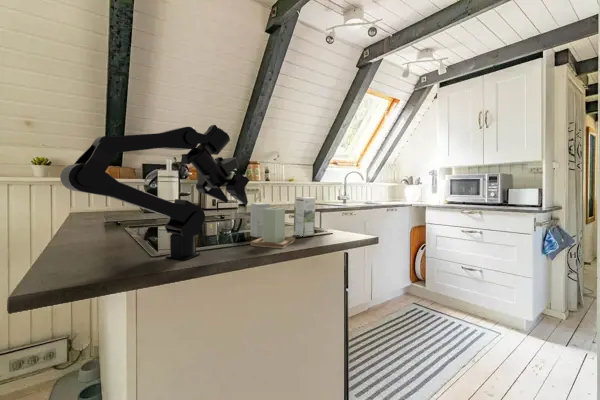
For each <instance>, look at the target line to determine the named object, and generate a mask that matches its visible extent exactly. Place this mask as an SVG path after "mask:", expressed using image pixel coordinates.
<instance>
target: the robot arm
mask: <svg viewBox="0 0 600 400" xmlns="http://www.w3.org/2000/svg"><path fill="white" fill-rule="evenodd" d="M230 141H231V137H230V136H229V134H228V132H226V131H225V130H223V129H221V127H218V126H217V125H216V124H211V125H210V126H208V128H207V130H206V131H205V132H203V133H201V132H198V131H197V130H196V129H195V128H194V127H193V126H183V127H178V128H172V129H169V130H165V131H162V132H157V133H143V134H141V133H139V134H128V135H127V134H126V135H114V136H113V135H104V136H98V137H96V138H95V139H94V140H93V142H92V144H91V145H90V146H89V147H88V148H87V149H86V150H85V151H84V152H83V153H82V154H81V155H80V156H79V157H78V158H77V159H76V161H75V162H74V163H73V164H69V165H67V166H66V167H64V168H63V169H62V171H61V172H60V176H59V178H60V182H61V183H62V185H63V187H64V188H66V189H68V190H70V191H73V192H79V193H84V194H85V193H86V194H91V195H98V196H103V197H109V198H112V199H113V200H117V201H120V202H124V203H125V204H129V205H132V206H135V207H138V208H140V209H144V210H146V211H149V212H151V213H152V212H153V213H155V214H158V215H162V216H164V217H165V218H166V219H167V220H169V221H168V222H167V223H166V224H165V225H164V228H165V230H166V233H167V234H170V236H169V241H170V244H169V245H170V249H169V250H170V253H169V254H167V255H165V258H166V259H174V260H182V261H186V260H189V259H191V258H194V257H197V256H199V255H201V252H199V251H197V238H196V235H197V236H198V235H200V234H201V230H202V229H203V228H202V226H203V225H204V224H205V221H206V214H205V210H204V209H203V208H201V207H200V206H201V204H196V203H193V202H191V201H189V200H187V199H178V198H175V199H174V202H172V201H170V200H167V199H165V198H162V197H159V196H157V195H154V194H152V193H149V192H146V191H144V190H141V189H138V188H136V187H133V186H130V185H129V184H126V183H123V182H121V181H118V180H117V178H115V177H113V176H112V175H110V174H109V173H108V172H106V171H107V170H108V169H109V167H110V166H111V165H110V164H111V163H112V160H113V159H114V157H115V155H116V154H118V153H125V152H136V151H138V152H139V151H145V150H154V149H163V150H171V151H185V150H189V151H188V152H187V153H181V159H180V165H192V166H193V167H194V169H195V170H196V171H197V172H198V174H197V176H198V178H199V180H198V181H197V183H196V184H195V189H196V190H197V192H198V193H201V194H203V195H205V196H209V197H212V198H214V199H216V200H218V201H220V202H223V203H225V204H226V203H228V202H229V199H228V197H227V195H226V194H225V193H224V191H223V190H222V187H225V191H226V192H227V193H228V194H229V196H231V198H234V199H236V201H238V202H240V203H242V204H243V205H247V204H248V203H249V200H248V198H247V197H248V196H247V194H246V193H247V192H246V186H247V185H248V183H249V182H250V178H249V177H248V176H247V175H246V174H233V176H232V177H231V178H229V177H230V176H231V175H232V171H235V170H236V169H239V168H240V165H239V163H238V160H237V157H227V158H226V157H225V158H223V157H222V156H218V157H216V158H214V157H213V156H212V155H215V156H217V155H219V154H220V153H221V152H222V151H223V150H224V148H225V147H226V146H227V145H228V144H229V143H230Z"/></svg>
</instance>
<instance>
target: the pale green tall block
mask: <svg viewBox="0 0 600 400" xmlns="http://www.w3.org/2000/svg"><path fill="white" fill-rule="evenodd" d="M285 229H286V209H285V208H279V207H270V208H267V209H263V242H272V243H282V242H283V241H285V237H286V236H285V235H286V230H285Z"/></svg>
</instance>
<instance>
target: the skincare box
mask: <svg viewBox="0 0 600 400" xmlns="http://www.w3.org/2000/svg"><path fill="white" fill-rule="evenodd" d="M270 204H271V203H268V202H267V203H266V202H258V203H257V202H255V203H254V202H253V203H250V236H251V237H253V238H261V237H263V209H267V208H271V205H270Z"/></svg>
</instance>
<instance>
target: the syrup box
mask: <svg viewBox="0 0 600 400" xmlns="http://www.w3.org/2000/svg"><path fill="white" fill-rule="evenodd" d="M293 204H294V206H293V207H294V209H293V210H294V212H293V235H294V234H295V235H294V236H297V235H300V236H299V237H302V236H303V237H302V238H304V237H311V236H315V228H316V227H315V226H316V224H315V223H316V217H315V216H316V197H312V196H299V197H297V196H295V197H294V203H293Z"/></svg>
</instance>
